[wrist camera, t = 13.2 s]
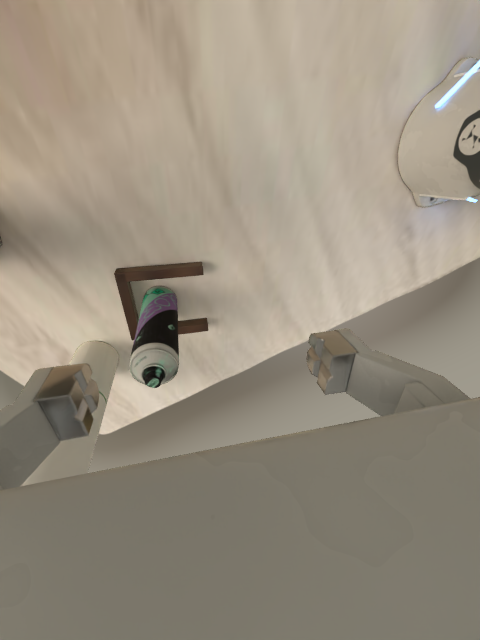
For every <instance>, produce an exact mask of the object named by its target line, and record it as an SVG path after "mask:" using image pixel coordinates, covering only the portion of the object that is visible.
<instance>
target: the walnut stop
mask: <svg viewBox="0 0 480 640" xmlns="http://www.w3.org/2000/svg"><path fill="white" fill-rule="evenodd" d="M114 275H115V279H116V282H117V286H118V290H119V294H120V297H121V301H122V305H123V309H124V312H125V316H126V320H127V324H128V327H129V331H130V335H131V339H132V340H134V339H135V335H136V330H137V325H138V321H139V318H138V314H137V310H136V305H135V301H134V297H133V293H132V288H131V284H130V281H141V280H152V279H163V278H174V277H186V276H197V275H203V266H202V262H194V263H182V264H169V265H157V266H145V267H133V268H120V269H116V271H115V273H114ZM202 331H208V323H207V318H203V319H195V320H186V321H178V334H186V333H194V332H202Z"/></svg>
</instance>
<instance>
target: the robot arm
mask: <svg viewBox="0 0 480 640" xmlns="http://www.w3.org/2000/svg"><path fill="white" fill-rule="evenodd" d="M398 167H399V172H400V175H401V178H402V180H403V181H404V183H405V184H406V185H407V186H408V187H409V188H410V190H411V191H412V192H413V195H414V200H415V203H416V205H417V206H418V207H428V206H432V205H435V204H439V203H442V202H446V201H450V200H453V199H454V200H468V201H471V202H477V200H475V199H473V198H470V197H473V196H477V195H480V60H477V59H475V58H472V57H469V58H464V59H461V60H460V61H459V62H458V63H457V64H456V65H455V66H454V68H453V69H452V70H451V72H450V73H449V74H448V76H447V77H446V79H445V80H444V81H443V82H442V83H441V84H440V85H438V86H437V87H436V88H434V89H433V90H432V91H431V92H429V93H428V94H427V95H426V96H425V97H424V98H423V99H422V100H421V101H420V103H419V104H418V105H417V106H416V108H415V109H414V111H413V112H412V114H411V116H410V117H409V119H408V121H407V123H406V125H405V128H404V130H403V133H402V136H401V139H400V144H399V149H398ZM430 198H431V199H430ZM309 344H310V345H311V348H310V349H309V350H308V352H307V365H308V368H309V370H310V372H311V374H312V375H314V376H316V377H318V380H317V383H318V385H319V386H320V388H321V389H322V391H323V392H324V394H325V395H327V394H334V393H341V392H346V393H347V394H349V395H350V396H352V397H353V398H355V399H356V400H358V401H359V402H361V403H363V404H364V405H365V406H367V407H368V408H370V409H371V410H373V411H374V412H376V413H377V414H379V415H380V417H375V418H370V419H365V420H360V421H354V422H350V423H344V424H339V425H334V426H329V427H324V428H319V429H314V430H308V431H303V432H298V433H293V434H288V435H282V436H277V437H272V438H266V439H261V440H257V441H251V442H246V443H241V444H236V445H230V446H225V447H220V448H215V449H210V450H205V451H200V452H195V453H189V454H184V455H179V456H175V457H169V458H164V459H159V460H153V461H148V462H143V463H138V464H133V465H128V466H122V467H117V468H112V469H107V470H102V471H97V472H92V473H86V474H81V475H76V476H71V477H66V478H61V479H55V480H50V481H45V482H40V483H35V484H30V485H25V486H21V485H22V484H23V483H24V482H25V481H26V480H27V478H28V477H29V476H30V475H31V474H32V473H33V472H34V471H35V470H36V469H37V468H38V466H39V465H40V464H41V463H42V462H43V461H44V460H45V459H46V458H47V457H48V456H49V455H50V453H51V452H52V451H53V450H54V449H55V448H56V447H57V446H58V445H59V444H60V441H64V440H69V439H74V438H79V437H84V436H89V433H90V429H91V426H92V423H93V420H94V419H93V416H92V413H93V412H94V411H95V410H96V409H97V407H98V403H99V389H98V385H97V383H96V381H94V380H92V379H91V375H92V370H91V368H90V365H89V364H87V363H83V364H74V365H65V366H56V367H49V368H41V369H38V370H36V371H35V372H34V373H33V375H32V376H31V378H30V379H29V381H28V382H27V384H26V385H25V387H24V388H23V390H22V391H21V393H20V394H19V396H18V397H17V399H16V400H15V402H14V403H13V405H8V406H6V407H4V408H3V409H1V410H0V640H480V397H478V398H473V399H470V398H469V397H468V396H467V395H465V394H464V393H463V392H462V391H460V390H459V389H458V388H457V387H455V386H454V385H453V384H452V383H451V382H449V381H448V380H447V379H446V378H445V377H443V376H441V375H438V374H435V373H433V372H430V371H428V370H425V369H423V368H420V367H417V366H415V365H412V364H410V363H407V362H404V361H402V360H399V359H397V358H394V357H392V356H389V355H386V354H383V353H381V352H379V351H372V350H371V349H370V348H369V347H368V346H367V345H365V344H364V342H362V341H361V340H360V339H359V338H358V337H357V336H356V335H355V334H354V333H353V332H352V331H351V330H350V329H348V328H344V329H338V330H334V331H326V332H319V333H312V334H311V335H310V337H309Z"/></svg>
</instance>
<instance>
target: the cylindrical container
mask: <svg viewBox="0 0 480 640" xmlns="http://www.w3.org/2000/svg"><path fill="white" fill-rule="evenodd" d="M118 361H119V356H118V353H117V351H116V350H115V349H114V348H113V347H112V346H110V345H109V344H107V343H104V342H100V341H90V342H86V343H83V344H82V345H80V346H79V347H78V348H77V350H76V351H75V353H74V355H73V357H72V359H71V361H70V363H69V365H74V364H83V363H87V364H89V365H90V368H91V370H92V375H91V379H92V380H94V381H96V383H97V385H98V389H99V403H98V407H97V409H96V410H95V411H94V412H93V413H92V416H93V419H94V420H93V423H92V426H91V429H90V433H89V436H84V437H79V438H74V439H69V440H64V441H60V444H59V445H58V446H57V447H56V448H55V449H54V450H53V451H52V452H51V453H50V455H49V456H48V457H47V458H46V459H45V460H44V461H43V462H42V463H41V464H40V465H39V466H38V468H37V469H36V470H35V471H34V472H33V473H32V474H31V475H30V476H29V477H28V478H27V480H26V481H25V482H24V483H23V484H22V485H21V486H25V485H30V484H35V483H40V482H45V481H50V480H55V479H61V478H66V477H71V476H76V475H81V474H86V473H88V470H89V466H90V463H91V459H92V455H93V452H94V448H95V445H96V441H97V437H98V434H99V430H100V426H101V423H102V419H103V415H104V412H105V408H106V404H107V401H108V397H109V393H110V390H111V386H112V383H113V379H114V375H115V372H116V368H117V364H118Z"/></svg>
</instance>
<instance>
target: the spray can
mask: <svg viewBox="0 0 480 640" xmlns="http://www.w3.org/2000/svg"><path fill="white" fill-rule="evenodd" d="M178 366H179V348H178V311H177V297H176V295H175V293H174V292H173V291H172V290H171V289H170V288H168V287H165V286H154V287H152V288H150V289H148V290H147V291H146V293H145V295H144V298H143V302H142V307H141V311H140V316H139V321H138V325H137V330H136V335H135V339H134V344H133V349H132V353H131V358H130V372H131V374H132V376H133V377H134V379H136V380H137V381H138V382H140V383H142V384H145V385H147V386H149V387H152V388H157V387H159V386H160V385H162V384H165V383H167V382H169V381H170V380H172V379H173V378H174V377H175V375H176V374H177V371H178Z"/></svg>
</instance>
